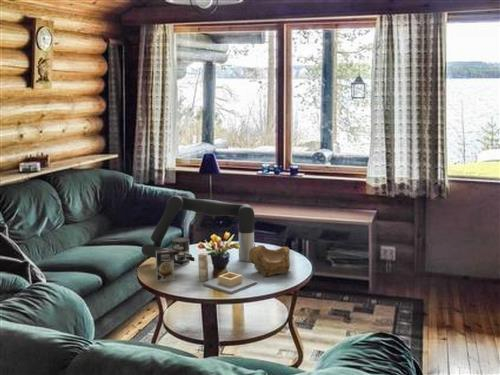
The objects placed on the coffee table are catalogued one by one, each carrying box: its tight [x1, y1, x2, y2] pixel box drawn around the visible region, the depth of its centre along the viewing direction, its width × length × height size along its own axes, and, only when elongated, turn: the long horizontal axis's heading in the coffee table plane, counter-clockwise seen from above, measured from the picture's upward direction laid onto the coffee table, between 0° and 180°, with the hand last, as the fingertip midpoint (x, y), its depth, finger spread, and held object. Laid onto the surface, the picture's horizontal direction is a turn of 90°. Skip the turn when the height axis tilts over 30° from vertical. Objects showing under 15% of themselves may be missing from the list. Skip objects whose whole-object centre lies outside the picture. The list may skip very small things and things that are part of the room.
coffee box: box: [155, 248, 175, 283], centre depth 301 cm, size 9×6×16 cm
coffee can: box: [171, 236, 190, 266], centre depth 331 cm, size 10×10×14 cm
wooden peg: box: [197, 252, 209, 282], centre depth 301 cm, size 5×5×14 cm
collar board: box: [202, 271, 258, 295], centre depth 294 cm, size 20×20×5 cm
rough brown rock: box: [249, 244, 291, 278], centre depth 310 cm, size 23×17×15 cm
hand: (188, 261), depth 308 cm, fingers open, 8 cm apart
